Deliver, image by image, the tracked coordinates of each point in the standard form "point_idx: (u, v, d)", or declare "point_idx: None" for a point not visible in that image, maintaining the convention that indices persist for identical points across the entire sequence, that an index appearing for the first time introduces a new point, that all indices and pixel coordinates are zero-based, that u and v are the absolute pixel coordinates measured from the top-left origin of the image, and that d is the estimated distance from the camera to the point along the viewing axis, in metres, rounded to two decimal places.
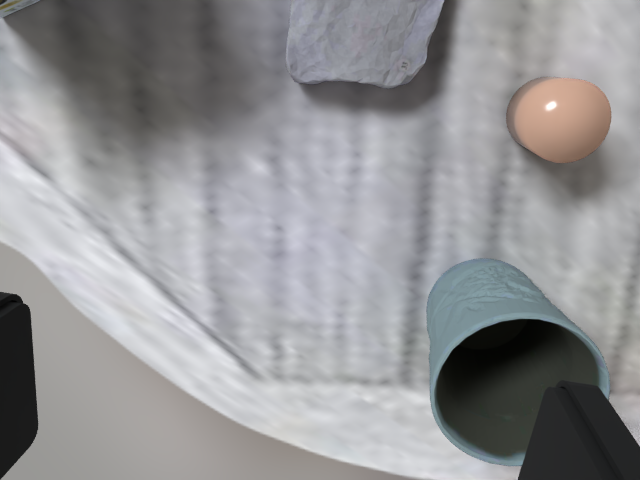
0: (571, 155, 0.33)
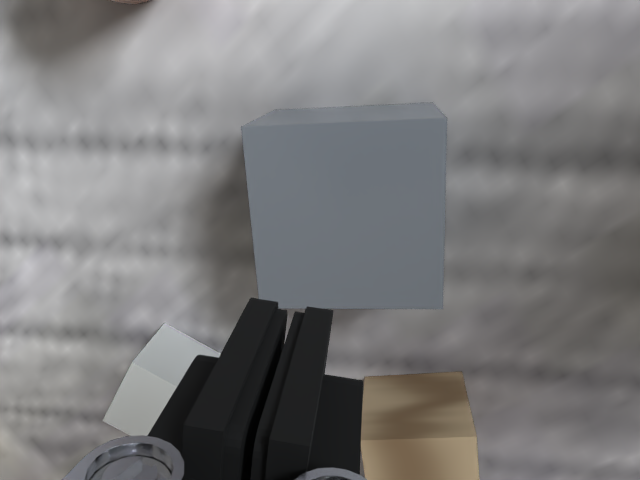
0: None
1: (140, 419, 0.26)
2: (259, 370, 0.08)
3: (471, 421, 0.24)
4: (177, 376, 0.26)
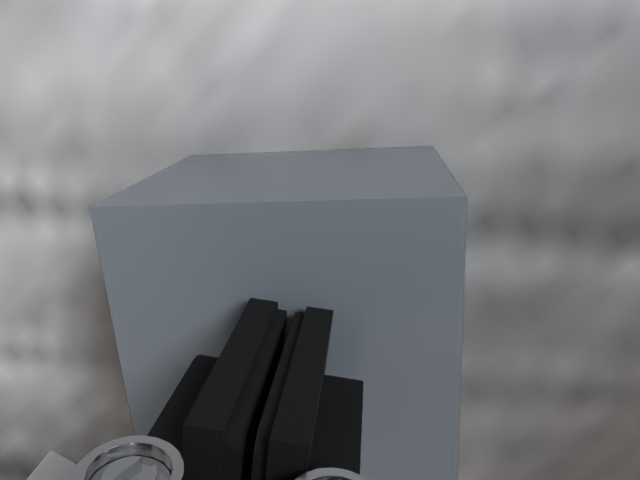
0: None
1: None
2: (259, 370, 0.08)
3: None
4: None
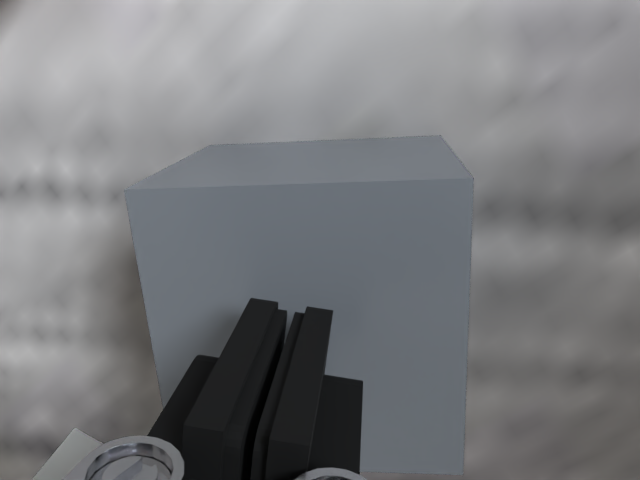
0: None
1: None
2: (259, 370, 0.08)
3: None
4: None
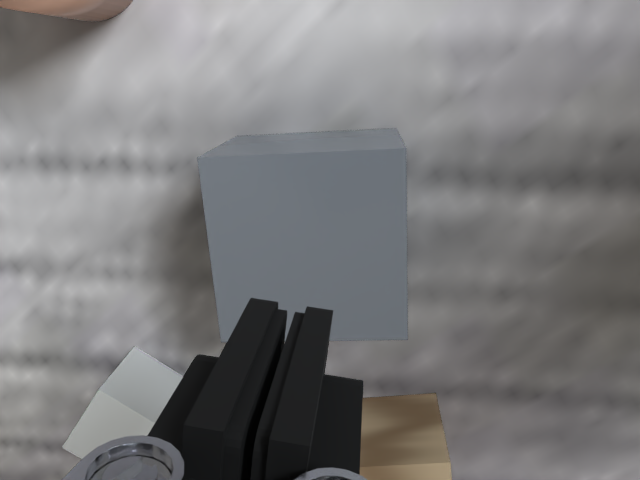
0: None
1: None
2: (259, 370, 0.08)
3: (445, 446, 0.23)
4: (145, 405, 0.25)
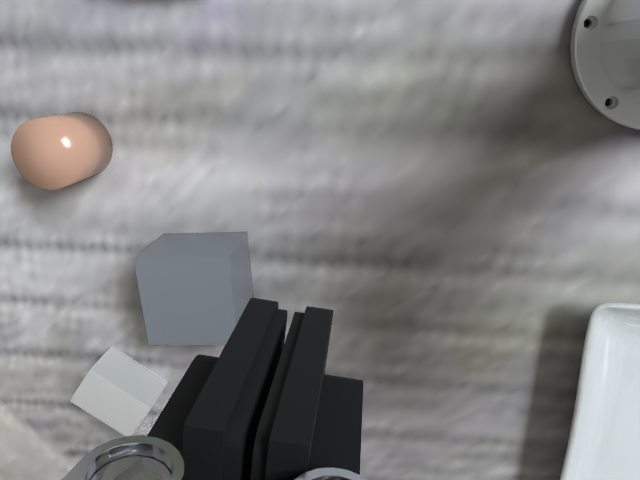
0: (19, 162, 0.38)
1: (91, 401, 0.45)
2: (259, 370, 0.08)
3: None
4: (115, 378, 0.45)
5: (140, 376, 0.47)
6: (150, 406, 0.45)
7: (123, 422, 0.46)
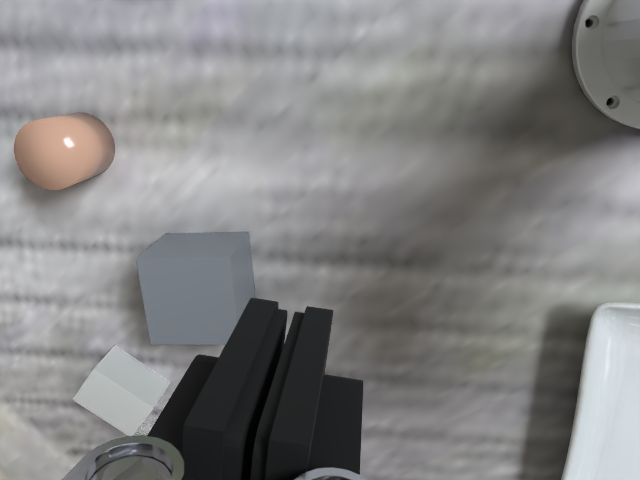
0: (22, 162, 0.38)
1: (94, 400, 0.45)
2: (259, 370, 0.08)
3: None
4: (118, 378, 0.45)
5: (143, 376, 0.47)
6: (153, 406, 0.45)
7: (126, 421, 0.46)
